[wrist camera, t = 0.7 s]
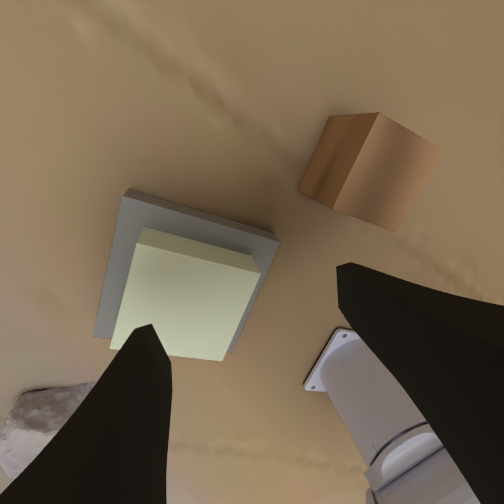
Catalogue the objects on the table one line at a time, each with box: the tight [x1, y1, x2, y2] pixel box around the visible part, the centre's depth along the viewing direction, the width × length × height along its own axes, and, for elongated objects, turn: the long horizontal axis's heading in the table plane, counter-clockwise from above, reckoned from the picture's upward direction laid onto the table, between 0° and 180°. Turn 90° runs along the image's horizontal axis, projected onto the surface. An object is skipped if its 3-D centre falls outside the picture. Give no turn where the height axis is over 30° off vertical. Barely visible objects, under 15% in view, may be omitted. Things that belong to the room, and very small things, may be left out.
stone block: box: [0, 381, 98, 479], centre depth 23 cm, size 12×5×10 cm
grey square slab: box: [93, 189, 280, 353], centre depth 19 cm, size 10×10×2 cm
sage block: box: [110, 227, 261, 361], centre depth 17 cm, size 7×7×2 cm
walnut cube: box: [298, 112, 446, 233], centre depth 17 cm, size 5×5×5 cm
